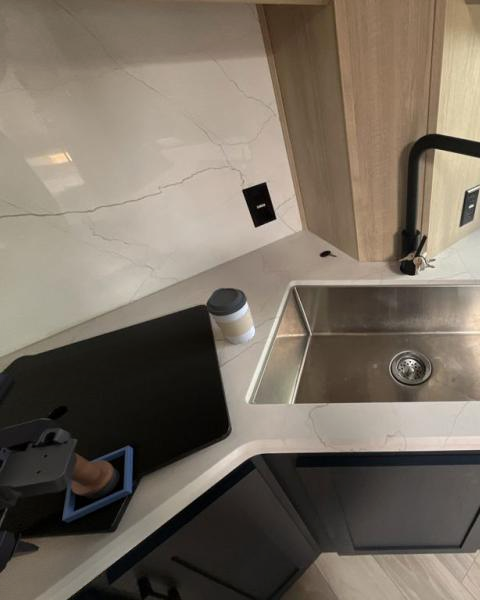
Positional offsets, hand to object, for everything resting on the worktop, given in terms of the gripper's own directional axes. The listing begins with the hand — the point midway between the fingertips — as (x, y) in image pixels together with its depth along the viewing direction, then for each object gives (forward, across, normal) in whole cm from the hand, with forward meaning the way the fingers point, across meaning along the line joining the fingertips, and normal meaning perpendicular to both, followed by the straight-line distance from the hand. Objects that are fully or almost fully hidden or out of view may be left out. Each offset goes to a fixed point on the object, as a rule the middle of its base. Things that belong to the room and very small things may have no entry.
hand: (47, 513), depth 46 cm
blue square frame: (+13, +9, +1) cm, 16 cm away
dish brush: (+12, +9, +1) cm, 15 cm away
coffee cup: (+13, +39, -23) cm, 47 cm away
